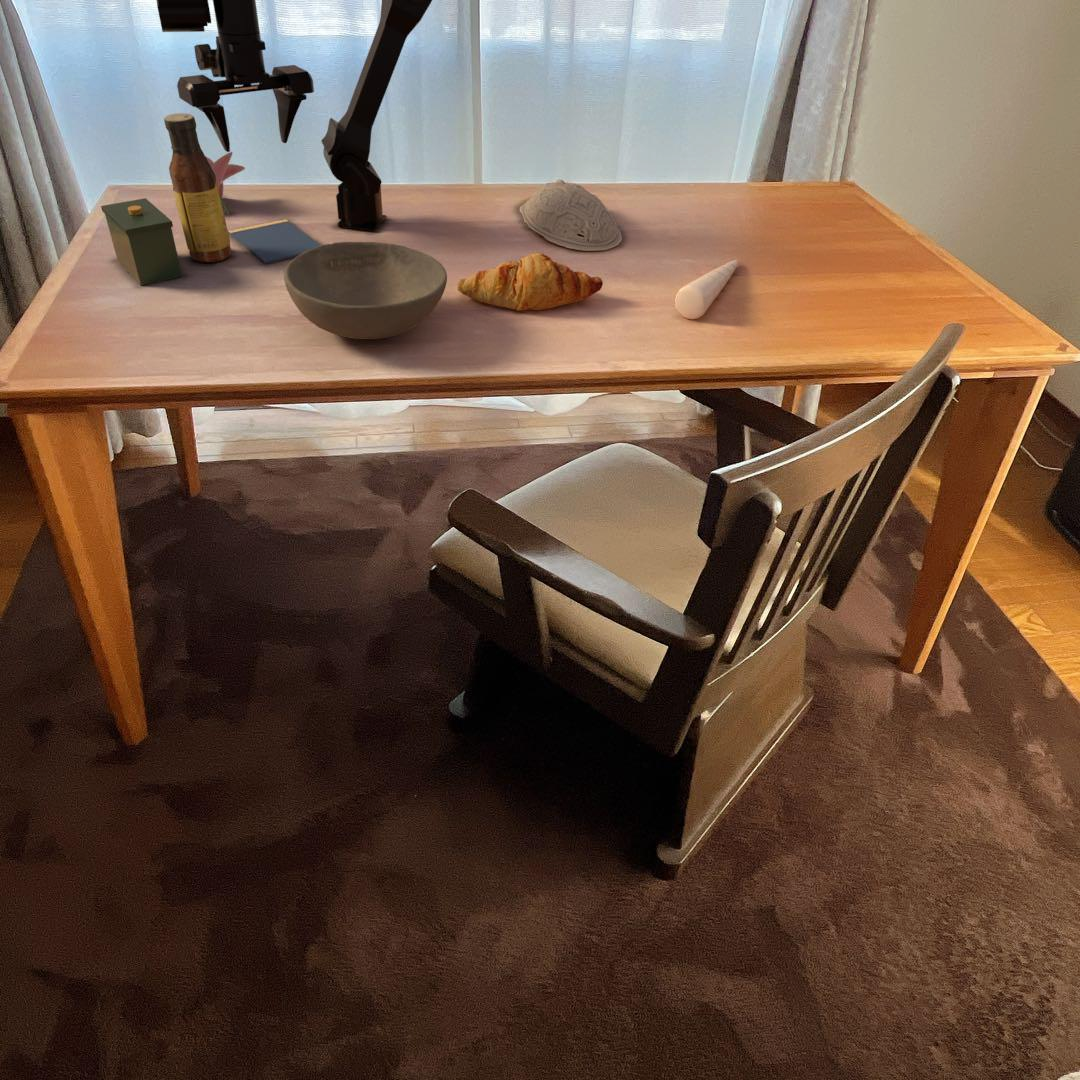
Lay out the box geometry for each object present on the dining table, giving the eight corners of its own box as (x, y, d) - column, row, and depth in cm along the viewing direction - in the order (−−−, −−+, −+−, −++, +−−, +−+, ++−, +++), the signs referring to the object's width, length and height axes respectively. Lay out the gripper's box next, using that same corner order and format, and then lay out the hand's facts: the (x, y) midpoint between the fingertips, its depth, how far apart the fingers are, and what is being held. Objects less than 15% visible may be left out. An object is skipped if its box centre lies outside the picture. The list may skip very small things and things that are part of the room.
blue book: (285, 221, 146) (285, 218, 145) (325, 250, 137) (325, 247, 137) (228, 233, 141) (227, 230, 140) (265, 264, 133) (265, 260, 132)
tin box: (158, 252, 134) (144, 192, 128) (184, 276, 128) (170, 215, 122) (115, 260, 131) (99, 200, 125) (140, 286, 125) (123, 224, 119)
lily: (262, 203, 154) (235, 147, 150) (257, 198, 143) (228, 138, 139) (198, 229, 153) (169, 174, 149) (189, 227, 142) (158, 167, 138)
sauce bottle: (240, 253, 135) (216, 115, 122) (213, 267, 131) (185, 126, 118) (206, 244, 137) (179, 107, 124) (178, 258, 132) (147, 118, 119)
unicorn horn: (759, 269, 141) (766, 240, 138) (701, 324, 125) (707, 293, 122) (732, 262, 142) (737, 232, 139) (671, 315, 127) (676, 284, 124)
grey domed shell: (551, 251, 140) (557, 208, 136) (504, 204, 159) (509, 165, 155) (638, 253, 145) (646, 212, 142) (582, 207, 164) (588, 169, 160)
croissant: (458, 329, 127) (458, 294, 120) (455, 272, 131) (454, 235, 123) (602, 325, 129) (610, 291, 122) (594, 269, 133) (602, 233, 125)
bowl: (278, 301, 123) (269, 246, 118) (420, 283, 130) (418, 230, 125) (310, 374, 109) (302, 315, 104) (468, 349, 116) (468, 293, 110)
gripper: (275, 15, 133) (289, 124, 143) (152, 25, 124) (176, 141, 134) (309, 30, 127) (321, 143, 137) (182, 41, 117) (204, 162, 127)
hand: (256, 146), depth 134 cm, fingers open, 9 cm apart
